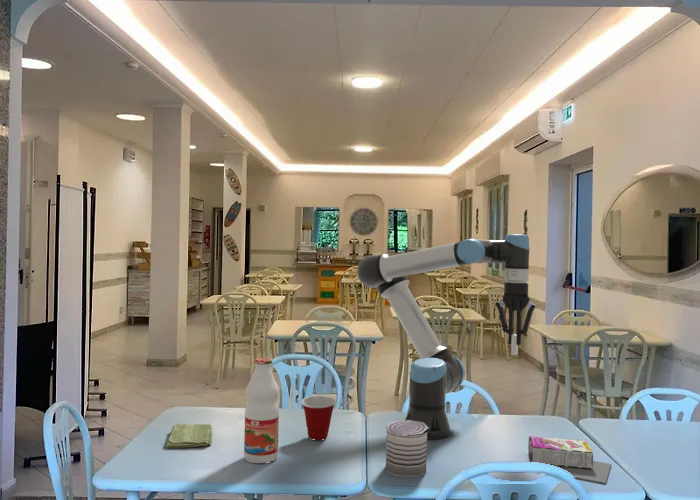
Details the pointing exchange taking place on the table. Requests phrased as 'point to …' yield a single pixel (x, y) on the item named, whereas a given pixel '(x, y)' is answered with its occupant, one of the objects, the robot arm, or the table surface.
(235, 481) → the table surface
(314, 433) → the plastic cup
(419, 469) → the can
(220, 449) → the table surface
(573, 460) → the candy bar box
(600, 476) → the mat
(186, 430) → the washcloth
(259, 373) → the fruit juice
